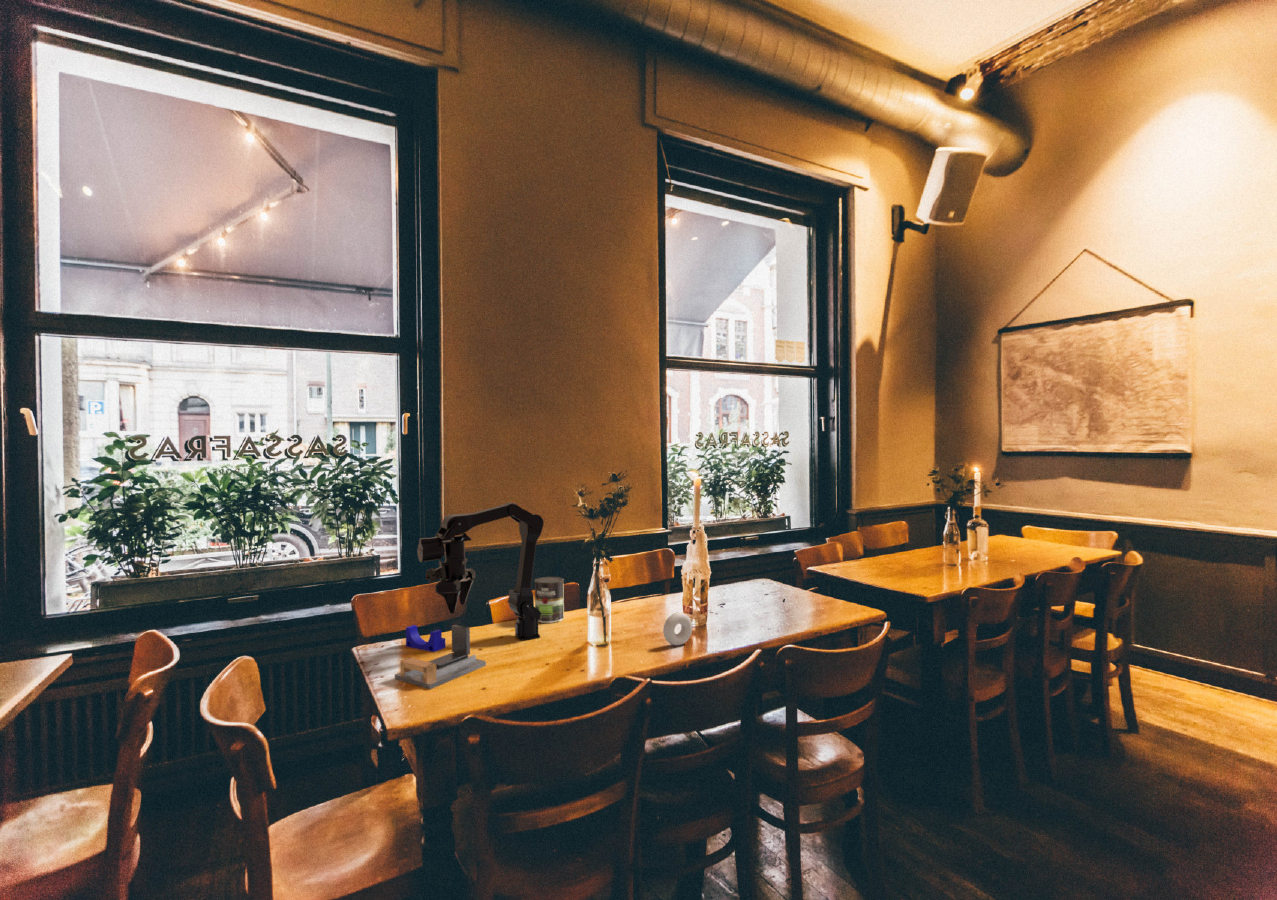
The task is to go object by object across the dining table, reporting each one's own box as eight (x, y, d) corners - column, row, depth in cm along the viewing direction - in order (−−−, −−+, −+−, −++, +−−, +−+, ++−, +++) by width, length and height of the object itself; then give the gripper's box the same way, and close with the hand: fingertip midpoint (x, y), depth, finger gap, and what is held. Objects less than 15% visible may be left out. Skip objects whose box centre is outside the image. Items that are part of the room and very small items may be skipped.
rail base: (451, 656, 174) (451, 639, 174) (485, 665, 167) (485, 647, 167) (394, 678, 158) (394, 660, 158) (430, 689, 151) (429, 669, 151)
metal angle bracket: (455, 656, 170) (454, 624, 170) (470, 659, 167) (469, 627, 167) (426, 667, 162) (425, 634, 162) (441, 671, 159) (440, 637, 159)
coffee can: (559, 624, 205) (558, 583, 205) (530, 623, 207) (530, 582, 207) (568, 615, 216) (567, 576, 216) (540, 614, 217) (540, 576, 217)
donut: (667, 649, 178) (666, 616, 177) (661, 646, 180) (660, 613, 180) (694, 643, 183) (694, 611, 182) (688, 640, 186) (687, 608, 185)
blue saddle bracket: (445, 648, 183) (445, 628, 183) (434, 652, 179) (433, 632, 179) (417, 642, 188) (417, 623, 188) (406, 647, 184) (405, 627, 184)
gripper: (440, 551, 188) (442, 601, 189) (416, 564, 170) (418, 619, 170) (474, 550, 188) (477, 599, 188) (454, 563, 169) (457, 617, 170)
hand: (457, 608), depth 179 cm, fingers open, 9 cm apart
